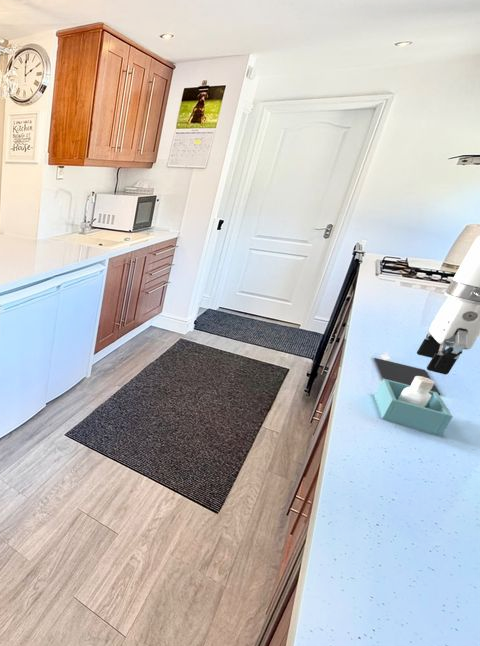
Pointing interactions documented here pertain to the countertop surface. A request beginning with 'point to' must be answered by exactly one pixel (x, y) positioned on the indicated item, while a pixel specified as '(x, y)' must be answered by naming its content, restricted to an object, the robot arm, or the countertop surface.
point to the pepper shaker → (417, 391)
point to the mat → (401, 372)
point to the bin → (412, 409)
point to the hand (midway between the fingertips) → (430, 363)
